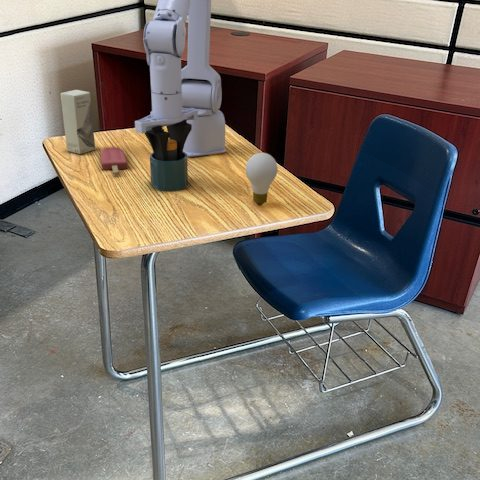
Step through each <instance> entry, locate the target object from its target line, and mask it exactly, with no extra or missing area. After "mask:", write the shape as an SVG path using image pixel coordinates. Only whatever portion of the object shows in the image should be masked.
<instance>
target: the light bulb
mask: <svg viewBox="0 0 480 480" xmlns="http://www.w3.org/2000/svg"><path fill="white" fill-rule="evenodd" d="M277 174H278V164H277V161H276V159H275V157H273V156H272V155H271V154H269V153H267V152H256V153H255V154H253V155H252V156H250V157H249V158H248V160H247V161H246V165H245V175H246V178H247V179H248V180H249V182H250V185H251V190H252V202H253V203H255V204H256V205H257V206H262V205H264V204H266V203H267V200H268V193H269V190H270V187H271V184H272V183H273V182H274V180H275V179H276V177H277Z"/></svg>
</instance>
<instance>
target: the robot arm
mask: <svg viewBox="0 0 480 480" xmlns="http://www.w3.org/2000/svg"><path fill="white" fill-rule="evenodd" d="M211 17H212V0H157V4H156V7H155V11H154V14H153V18H152V19H151V20H150V21H149V22H146V23H145V25H144V28H143V39H142V41H143V47H144V51H145V54H146V62H147V66H149V73H150V74H149V76H150V77H149V78H150V94H151V111H150V114H149V115H147V116H144V117H143V118H141V119H138V120H134V131H135V132H136V133H139V134H141V135H142V134H144V135H145V137H146V139H147V141H148V142H149V144H150V147H151V149H152V153H153V152H154V155H155V158H156V159H157V160H161V161H167V144H168V139H172V140H175V141H177V160H180V159H181V157H182V152H185V153H186V154H187V157H189V158H193V157H202V156H209V155H217V154H225V153H227V150H226V120H225V115H224V113H223V112H222V111H221V110H220V108H221V105H222V98H223V90H222V78H221V75H220V74H219V73H218V72H217V71H216V70H215V69H214V68H213V67H212V66H211V64H210V50H211V49H210V46H211V45H210V44H211V19H212V18H211ZM187 19H188V20H187ZM186 23H187V28H186ZM186 36H187V62H186V64H187V65H185V66H184V67H182V56H183V55H184V52H185V47H186ZM190 79H192V80H190ZM205 80H206V81H205ZM164 127H166V130H167V131H165V129H164Z"/></svg>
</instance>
